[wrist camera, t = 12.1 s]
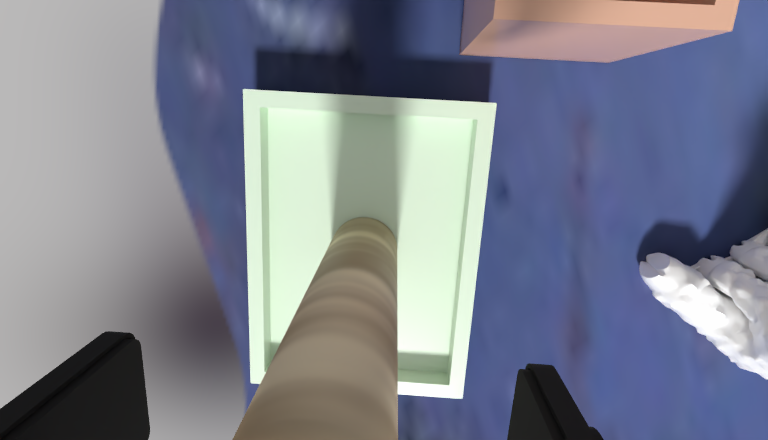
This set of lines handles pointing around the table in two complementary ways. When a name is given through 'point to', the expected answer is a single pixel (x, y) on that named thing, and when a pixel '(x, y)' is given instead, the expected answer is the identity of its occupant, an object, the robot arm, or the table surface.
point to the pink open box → (588, 27)
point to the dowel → (337, 349)
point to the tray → (369, 214)
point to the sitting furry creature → (720, 298)
